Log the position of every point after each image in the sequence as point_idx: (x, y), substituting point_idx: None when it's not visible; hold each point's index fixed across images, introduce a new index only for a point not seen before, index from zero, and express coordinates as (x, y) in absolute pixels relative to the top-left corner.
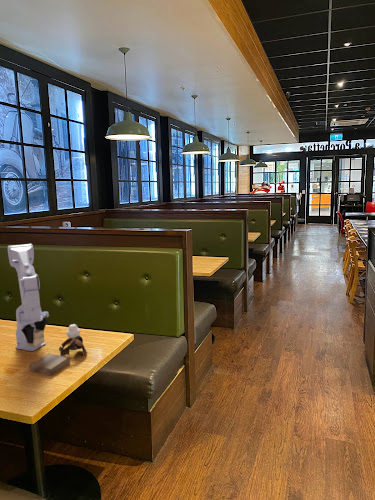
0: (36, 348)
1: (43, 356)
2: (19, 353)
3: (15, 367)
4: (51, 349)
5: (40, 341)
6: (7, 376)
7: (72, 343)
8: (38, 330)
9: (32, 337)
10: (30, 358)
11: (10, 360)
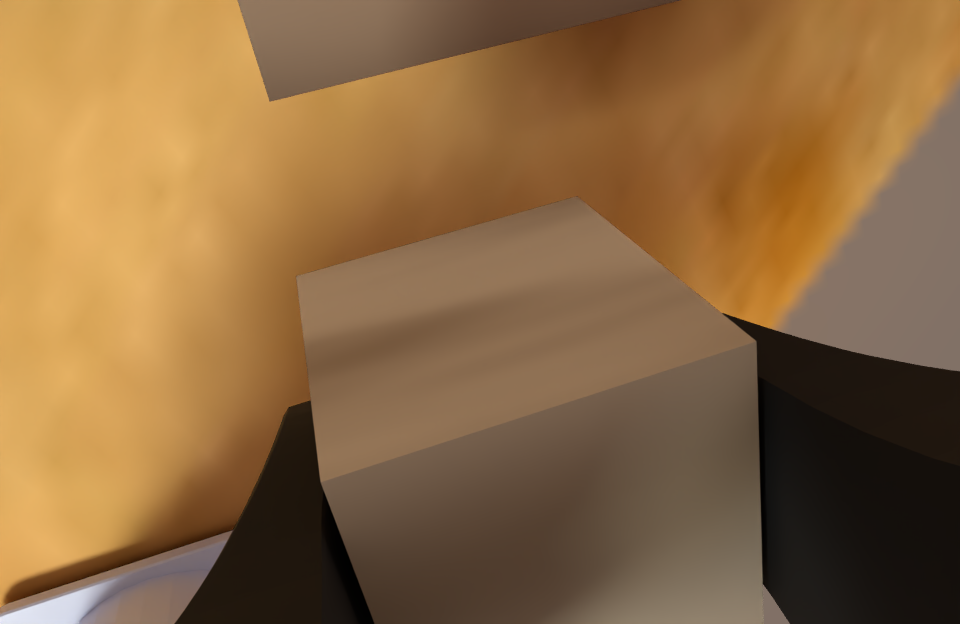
0: (213, 542)
1: (420, 55)
2: None
3: (696, 262)
4: (30, 381)
5: (442, 268)
6: (896, 118)
7: None
8: (443, 576)
9: None
10: None
11: None
